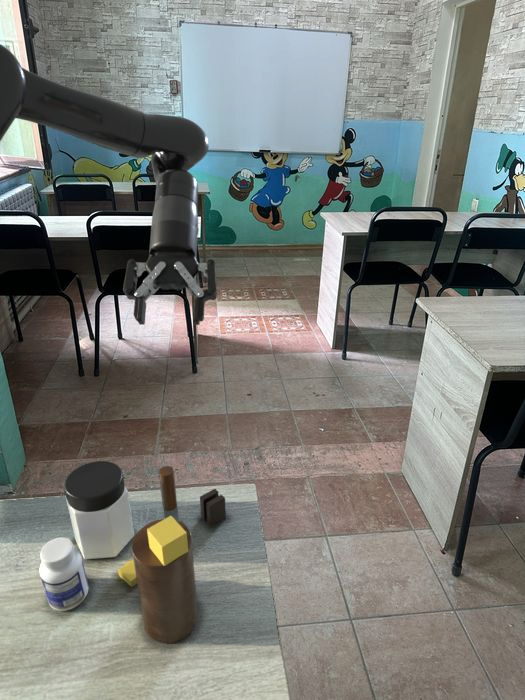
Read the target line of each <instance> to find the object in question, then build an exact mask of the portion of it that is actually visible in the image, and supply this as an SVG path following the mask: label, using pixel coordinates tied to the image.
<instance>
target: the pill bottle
mask: <svg viewBox="0 0 525 700" xmlns="http://www.w3.org/2000/svg"><path fill="white" fill-rule="evenodd" d="M39 555H40V561H41V563H40V565H39V570H38V571H39V576H40V580H41V583H42V587H43V589H44V592H45V596H46V599H47V602H48V604H49V606H50V607H51V608H52V609H53V610H54V611H59V612H67V611H70V610H73V609H75V608H76V607H78V606H79V605H80V604H82V602H83V601H84V600H85V599H86V597H87V595H88V592H89V581H88V577H87V573H86V570H85V565H84V561H83V556H82V553H81V552H80V551H79V550H78V549H76V548H75V546H74V544H73V541H72V540H71V539H69V538H67V537H61V536H60V537H55V538H53V539H51V540H49V541H48V542H46V543H45V544H44V545H43V547H42V548H41V550H40V553H39Z"/></svg>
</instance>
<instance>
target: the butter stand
mask: <svg viewBox="0 0 525 700" xmlns="http://www.w3.org/2000/svg"><path fill="white" fill-rule="evenodd" d="M162 520H164V518H162V519H157V520H153V521H151V522H149V523H147V524H145V525H144V526H143V527H141V528H140V529H139V530H138V531H137V532H136V534H134V536H133V538H132V542H131V554H132V559H133V560H134V566H135V572H136V579H137V583H136V585H137V591H138V596H139V603H140V609H141V615H142V621H143V627H144V629H145V632H146V635H148V637H149V638H150V639H152V640H153V641H154V642H157V643H160V644H173V643H177V642H180V641H181V640H184V638H186V637H187V636H188V635H189V634H191V632H192V631H193V630H194V628H195V627H196V624H197V622H198V617H199V611H198V599H197V597H198V596H197V587H196V586H197V585H196V575H195V574H196V573H195V562H194V550H193V539H192V538H193V537H192V533H191V531H190V529H189V527H188V526H187V525H186V524H184V523H183V522H182V521H180V520H179V521H177V520H176V521H177V523H178V524H179V525H180V526H181V527H182V528H183V529H184V530H185V531H186V533H187V542H188V552H186V553H185V554H183V555H182V556H180V557H178V558H177V559H175V560H174V561H172V562H170V563H169V564H167V565H166V566H164V565H163V564H162V563H161V561H160V560H159V559H158V558H157V556H156V555H155V554H154V553H153V551H152V550H151V549H150V547H149V540H148V533H147V529H148V528H150V527H152V526H153V525H155V524H157V523H159V522H161V521H162Z"/></svg>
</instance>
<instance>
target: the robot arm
mask: <svg viewBox="0 0 525 700" xmlns="http://www.w3.org/2000/svg"><path fill="white" fill-rule="evenodd" d="M16 119H19V120H23V121H27V122H31V123H34V124H37V125H41V126H45V127H48V128H51V129H54V130H55V131H56V130H57V131H59V132H62V133H64V134H67V135H70V136H72V137H75V138H78V139H80V140H81V141H85V142H87V143H89V144H92V145H95V146H97V147H101V148H103V149H107V150H110V151H113V152H115V153H119V154H122V155H126V156H129V157H132V158H136V159H144V158H148V157H149V156H150V162H151V169H152V172H153V178H154V181H155V185H156V187H155V197H154V207H153V210H152V217H151V225H150V226H151V227H150V239H149V251H148V252H149V253H148V259H147V260H146V262H141V261H140V262H139V261H136V259H134V258H130V259H129V260H127V265H126V269H125V270H126V271H125V277H124V282H123V288H122V291H123V293H124V294H125V296H126V298H127V300H133V301H134V302H133V303H134V305H133V317H134V319H135V321H136V322H137V323H138V325H143V326H144V325H145V323H146V315H147V314H146V313H147V302H146V301H147V300H149V298H150V297H151V296H152V295H155V294H156V292H157V291H158V290H159V289H161V290H162V291H168V290H175V291H176V290H177V291H183V289H185V288H186V289H187V291H188V292H189V293H190V294H191V295H192V296H193V297H194V299H193V324H194V325H195V326H199V325H200V322H203V321H204V319H205V304H206V302H208V301H209V300H211V301H215V300H216V299H217V298H218V295H217V293H218V292H217V268H216V263H215V262H216V261H215V260H214V259H208V260H207V261H206V262H198V259H197V258H198V257H197V256H198V254H197V253H198V237H199V236H198V235H199V230H200V229H199V216H198V203H199V202H198V201H199V200H198V199H199V186H198V185H199V184H198V181H197V179H196V177H195V176H194V175H193V174H192V173H191V172H189V170H191V169H192V168H193V167H195V166H196V165H197V164H198V163H200V162H201V161H202V160H203V159H204V158H205V157H206V155H207V154H208V151H209V148H210V147H209V145H210V143H209V138H208V136H207V133H206V132H205V131H204V130H203V128H202V127H201V126H200V125H199V124H198V123H196V122H194V121H192V120H191V119H189V118H186V117H182V116H178V115H177V116H176V115H167V114H159V113H146V112H144V111H141V110H138V109H136V108H133V107H131V106H128V105H125V104H124V103H121V102H118V101H115V100H113V99H110V98H106V97H103V96H101V95H97V94H94V93H90V92H87V91H83V90H80V89H77V88H73V87H70V86H67V85H64V84H61V83H58V82H56V81H53V80H50V79H49V78H45V77H43V76H40V75H38V74H36V73H34V72H32V71H30V70H28V69H26V68H24V67H22V65H21V63H20V61H19V60H18V59H17V57H16V56H15V54H13V53H12V52H11V51H10V49H8V48H7V47H6V46H4V45H3V44H1V43H0V142H1V141H2V140H3V138H4V137H5V135H6V133H7V132H8V130H9V129H10V127H11V126H12V125H13V123H14V121H15V120H16ZM144 272H146V273H147V274H148V275H147V276H146V277H145V278H144V279H143V280H142V283H141V284H140V286H139V287H138V288H137V284H138V278H139V277H141V276H142V275H143V273H144ZM199 272H202V275H203V276H204V277H205V278H207V289H202V288H201V286H199V284H198V283H197V281H196V279H194V278H195V277H196V276H197V275H198V274H199Z"/></svg>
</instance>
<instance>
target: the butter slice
mask: <svg viewBox="0 0 525 700" xmlns="http://www.w3.org/2000/svg"><path fill="white" fill-rule="evenodd" d="M117 572H118V576H119V577H120V579H122V580H123V581H124V582H125V583H127V585H129V586H130V587H131V588H133V587H134V586H135V585H137V579H136V572H135V566H134V560H133V558H131V559H130V560H128V561H127V562H126V563H125V564H124V565H122V566H121V567H120V568H118V569H117Z"/></svg>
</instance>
